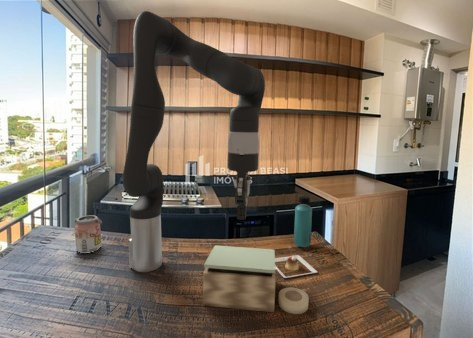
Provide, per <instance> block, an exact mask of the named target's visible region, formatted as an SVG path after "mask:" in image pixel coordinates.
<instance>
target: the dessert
mask: <svg viewBox="0 0 473 338" xmlns="http://www.w3.org/2000/svg"><path fill="white" fill-rule="evenodd" d="M277 262H285V264H284V268H285V269H286V270H289V271H291V272H296V271H299V269H300V267H299V263H298V262H300V263H301V264H302V265H304V266H305V267H306V269H308V270H309V271H311V272H308V273H302V274H301V273H300V274H296V275H289V276H285V274H284V273H283V272H282V271H281V270H280V268H278V267H277V265H276V264H275V270H276V271H277V272H278V273H279V274H280V275H281V277H283V279H289V278H294V277H299V276H304V275H310V274H312V275H313V274H317V273H319V272H318V270H316V269H315V268H314V267H313V266H312V265H311V264H310V263H308V261H306V260H305V259H304V258H303V257H302V256H300V254H297V255H295V254H294V255H290V256H284V257H275V263H277Z"/></svg>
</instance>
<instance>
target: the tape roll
mask: <svg viewBox="0 0 473 338" xmlns="http://www.w3.org/2000/svg"><path fill="white" fill-rule="evenodd" d="M309 299H310V298H309V295H308V294H307V292H305V291H304V290H302V289H300V288H297V287H290V286H289V287H285V288H284V287H283V288H282V289H281V290H280V291H279V292H278V306H279V308H280V309H281V310H283V311H284V312H286V313H289V314H292V315H301V314H304V313H306V312H307V311H308V309H309Z"/></svg>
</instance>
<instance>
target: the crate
mask: <svg viewBox="0 0 473 338" xmlns="http://www.w3.org/2000/svg"><path fill="white" fill-rule="evenodd" d="M202 277H203V279H202V280H203V281H202V282H203V288H202V289H203V291H202V293H203V294H202V296H203V297H202V298H203V300H202V302H203V306H207V307H217V308H225V309H226V308H228V309H237V310H247V311H256V312H257V311H258V312H268V313H275V298H276V272H275V273H265V272H253V271H240V270H228V269H216V268H204V271H203V276H202Z"/></svg>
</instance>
